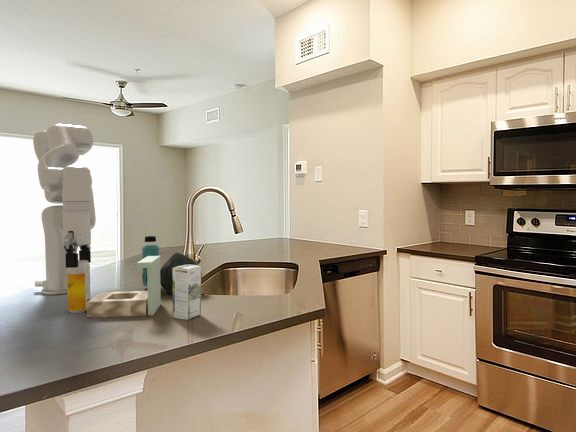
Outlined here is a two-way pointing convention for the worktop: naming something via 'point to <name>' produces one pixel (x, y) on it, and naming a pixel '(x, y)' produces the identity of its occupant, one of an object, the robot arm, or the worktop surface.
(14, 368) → the worktop surface
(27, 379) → the worktop surface
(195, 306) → the syrup box
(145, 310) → the socket
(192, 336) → the worktop surface
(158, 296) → the mint green slab
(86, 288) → the beer can
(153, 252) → the beverage bottle
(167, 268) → the squash
